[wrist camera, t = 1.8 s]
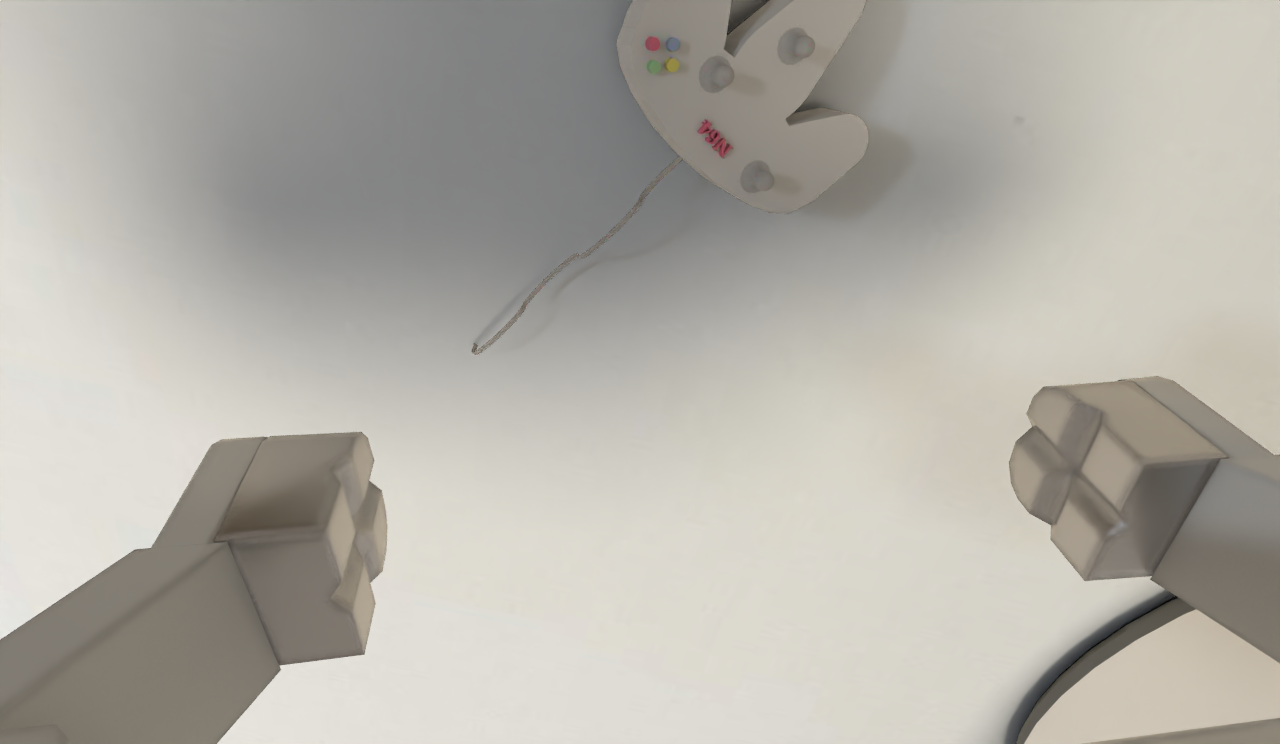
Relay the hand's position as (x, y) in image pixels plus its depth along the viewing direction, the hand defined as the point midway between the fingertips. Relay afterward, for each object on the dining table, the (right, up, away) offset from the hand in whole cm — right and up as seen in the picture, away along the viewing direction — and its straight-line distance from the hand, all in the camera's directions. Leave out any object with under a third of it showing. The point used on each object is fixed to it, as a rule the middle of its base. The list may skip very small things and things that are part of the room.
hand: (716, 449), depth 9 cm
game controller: (-1, +6, +8) cm, 10 cm away
